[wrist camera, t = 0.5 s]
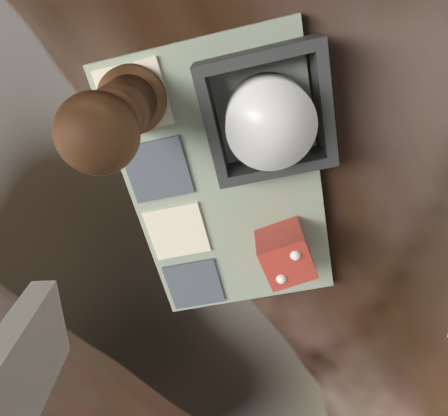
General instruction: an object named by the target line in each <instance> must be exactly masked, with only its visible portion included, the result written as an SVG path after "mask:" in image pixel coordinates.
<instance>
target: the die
mask: <svg viewBox="0 0 448 416" xmlns="http://www.w3.org/2000/svg"><path fill="white" fill-rule="evenodd" d="M254 236H255V245H256V255H257V258H258V260H259V262H260V265H261V267H262V269H263V271H264V274H265V276H266V278H267V280H268V282H269V285H270V287H271V289H272V291H273V292H277V291H280V290H283V289H286V288H290V287H293V286H296V285H299V284H303V283H306V282H309V281H312V280H315V279H319V276H318V273H317V270H316V267H315V264H314V261H313V258H312V255H311V251H310V249H309V246H308V243H307V241H306V238H305V235H304V233H303V230H302V227H301V225H300V222H299V219H298V217H297V216H294V217H291V218H289V219H286V220H283V221H280V222H277V223H274V224H271V225H268V226H265V227H262V228H260V229H257V230H254Z"/></svg>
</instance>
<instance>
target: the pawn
mask: <svg viewBox="0 0 448 416" xmlns="http://www.w3.org/2000/svg"><path fill="white" fill-rule="evenodd" d="M166 107H167V94H166V90H165V87H164V85H163V83H162V81H161V80H160V78H159V77H158V76H157V75H156V74H155V73H154V72H153V71H151V70H150V69H149V68H147V67H145V66H142V65H139V64H134V63H126V64H121V65H118V66H116V67H114V68H112V69H111V70H109V71H108V72H107V73H106V74H105V75H104V76H103V77H102V78H101V80H100V82H99V84H98V87H97V90H86V91H82V92H79V93H76V94H74V95H72V96H71V97H69V98H68V99H67V100H65V101H64V102H63V103H62V105H61V106H60V107H59V109H58V111H57V112H56V114H55V117H54V120H53V126H52V135H53V140H54V144H55V146H56V149H57V151H58V153H59V154H60V155H61V157H62V158H63V159H64V161H65V162H67V163H68V164H69V165H70V166H72V167H73V168H75V169H76V170H78V171H80V172H82V173H85V174H90V175H96V176H99V175H101V176H102V175H109V174H112V173H115V172H118V171H119V170H121V169H123V168H124V167H126V166H127V165H128V164H129V163H130V162H131V161H132V160H133V158H134V157H135V155H136V153H137V151H138V148H139V145H140V140H141V134H143V133H146V132H148V131H150V130H152V129H153V128H155V127H156V126H157V125H158V123H159V122H160V121H161V119H162V117H163V115H164V113H165V111H166Z"/></svg>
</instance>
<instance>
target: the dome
mask: <svg viewBox="0 0 448 416" xmlns="http://www.w3.org/2000/svg"><path fill="white" fill-rule="evenodd" d="M317 131H318V117H317V112H316V109H315V106H314V104H313V102H312V101H311V99H310V98H309V96H308V95H307V94H306V93H305V91H304V90H303V89H302V88H301V87H300V86H299V84H298V83H297V82H296V81H294V80H293V79H292V78H290V77H288V76H287V75H284V74H282V73H278V72H260V73H257V74H254V75H251V76H249V77H248V78H246V79H244V80H243V81H242V82H241V83H239V85H238V86H237V87H236V88H235V89H234V91H233V92H232V94H231V96H230V98H229V100H228V103H227V107H226V121H225V133H226V138H227V142H228V144H229V147H230V149H231V150H232V152H233V153H234V155H235V156H236V157H237V158H238V159H239V160H240V161H241V162H243V163H244V164H245V165H247V166H249V167H251V168H254V169H257V170H261V171H277V170H282V169H285V168H288V167H290V166H292V165H294V164H295V163H297V162H298V161H300V160H301V159H302V158H303V157H304V156H305V155H306V154H307V153H308V151H309V150H310V149H311V147H312V145H313V143H314V141H315V138H316V135H317Z"/></svg>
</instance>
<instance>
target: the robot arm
mask: <svg viewBox="0 0 448 416" xmlns="http://www.w3.org/2000/svg"><path fill="white" fill-rule="evenodd" d="M447 337H448V335H447ZM69 351H70V347H69V342H68V337H67V332H66V327H65V322H64V317H63V313H62V307H61V302H60V298H59V292H58V287H57V283H56V281H31V283H30V284H29V286H28V287H27V288H26V289H25V291H24V292H23V293H22V295H21V296H20V297H19V299H18V300H17V301H16V303H15V304H14V305H13V307H12V308H11V309H10V311H9V312H8V313H7V315H6V316H5V317H4V319H3V320H2V321H1V323H0V416H40V414H41V412H42V410H43V408H44V405H45V403H46V401H47V399H48V397H49V394H50V392H51V390H52V388H53V386H54V384H55V381H56V379H57V377H58V375H59V373H60V370H61V368H62V366H63V364H64V362H65V359H66V357H67V355H68V353H69Z"/></svg>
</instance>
